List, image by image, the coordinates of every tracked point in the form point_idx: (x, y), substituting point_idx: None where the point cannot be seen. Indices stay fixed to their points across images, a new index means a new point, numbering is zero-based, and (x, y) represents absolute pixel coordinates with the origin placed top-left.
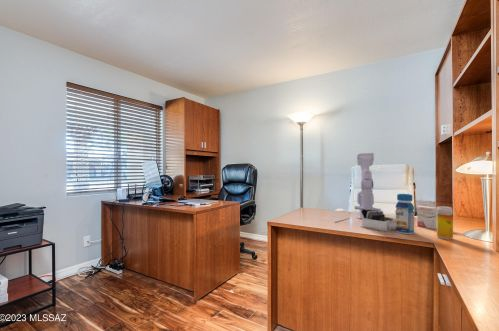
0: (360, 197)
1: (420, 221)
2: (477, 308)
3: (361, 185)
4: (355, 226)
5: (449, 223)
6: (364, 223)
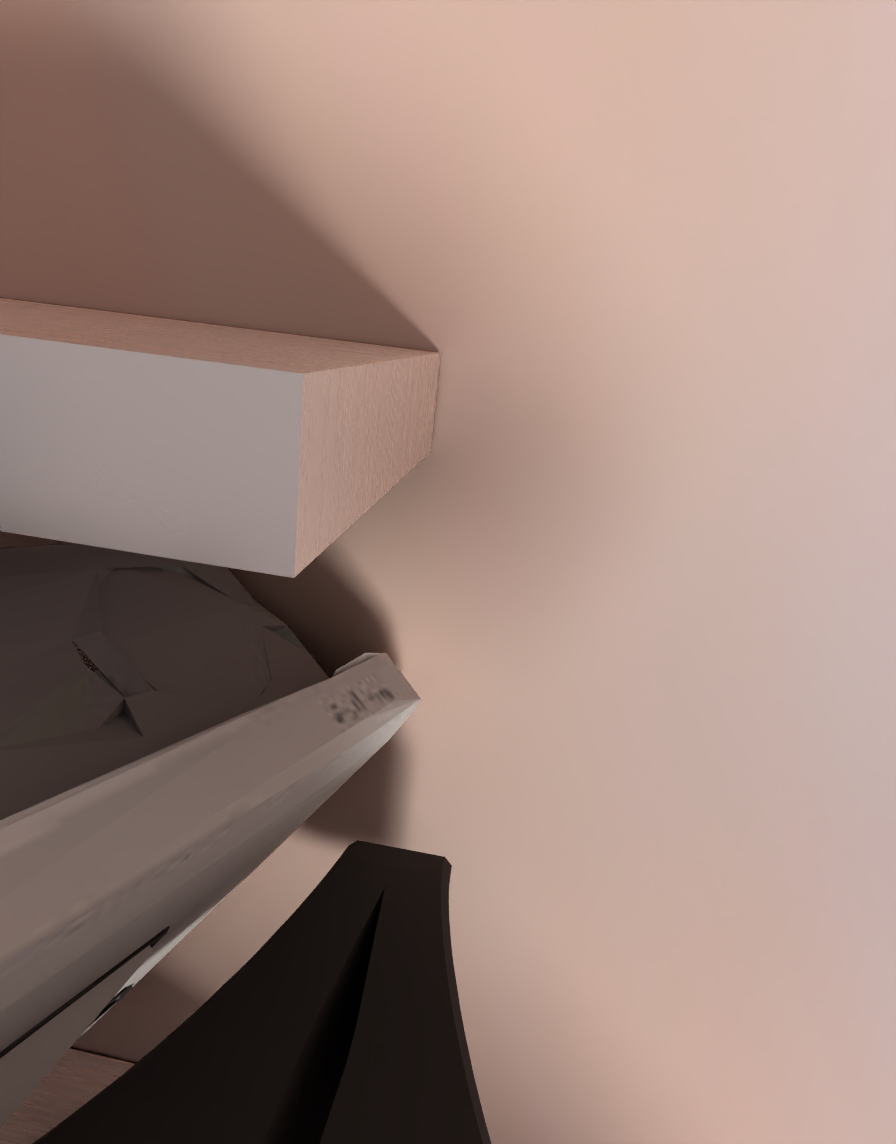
0: None
1: None
2: None
3: None
4: (734, 195)
5: None
6: (270, 341)
